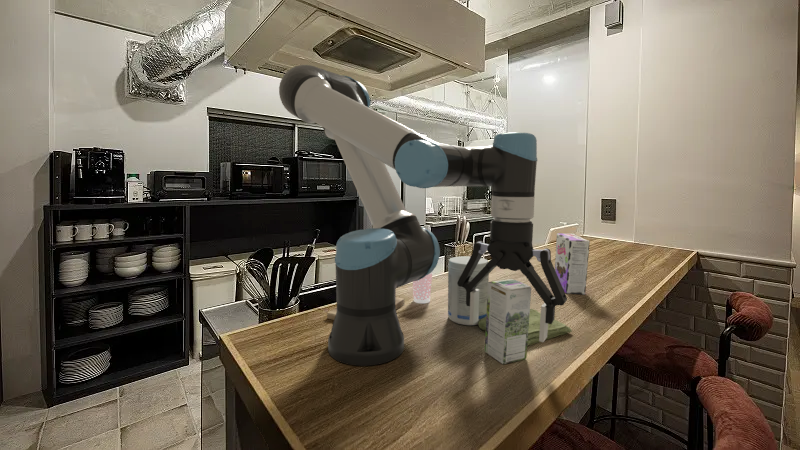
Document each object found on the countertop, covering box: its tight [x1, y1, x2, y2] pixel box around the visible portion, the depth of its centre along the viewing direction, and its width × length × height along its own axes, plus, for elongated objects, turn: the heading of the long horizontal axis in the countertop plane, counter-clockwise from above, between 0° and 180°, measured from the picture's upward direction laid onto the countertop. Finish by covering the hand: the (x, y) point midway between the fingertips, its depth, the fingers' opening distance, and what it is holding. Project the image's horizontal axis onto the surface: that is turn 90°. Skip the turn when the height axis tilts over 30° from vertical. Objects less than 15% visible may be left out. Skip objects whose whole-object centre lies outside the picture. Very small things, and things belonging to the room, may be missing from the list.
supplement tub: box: [447, 255, 490, 326], centre depth 88 cm, size 10×10×15 cm
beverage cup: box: [412, 270, 434, 304], centre depth 102 cm, size 6×6×14 cm
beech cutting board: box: [326, 296, 405, 321], centre depth 94 cm, size 18×12×2 cm, turn 153°
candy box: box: [554, 232, 591, 296], centre depth 115 cm, size 14×6×16 cm, turn 172°
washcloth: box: [477, 308, 573, 346], centre depth 83 cm, size 13×18×3 cm
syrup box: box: [484, 278, 532, 365], centre depth 70 cm, size 6×6×14 cm
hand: (506, 330), depth 70 cm, fingers open, 13 cm apart
